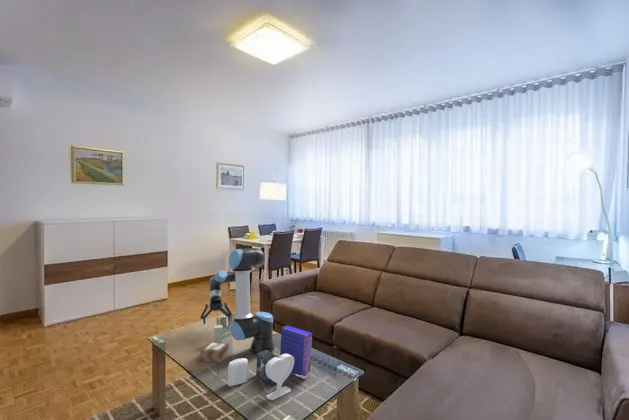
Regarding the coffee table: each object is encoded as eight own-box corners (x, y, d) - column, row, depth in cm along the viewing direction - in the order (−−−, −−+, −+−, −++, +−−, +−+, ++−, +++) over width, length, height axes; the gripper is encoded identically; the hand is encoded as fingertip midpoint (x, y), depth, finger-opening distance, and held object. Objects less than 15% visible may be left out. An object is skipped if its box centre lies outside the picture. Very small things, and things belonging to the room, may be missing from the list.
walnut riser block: (228, 353, 195) (228, 343, 195) (220, 362, 183) (220, 352, 183) (209, 350, 196) (210, 341, 196) (200, 360, 184) (200, 349, 184)
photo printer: (245, 378, 169) (246, 355, 168) (248, 382, 165) (249, 358, 165) (226, 383, 163) (227, 359, 163) (229, 387, 159) (230, 363, 159)
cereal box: (309, 375, 174) (312, 332, 173) (305, 379, 170) (307, 335, 169) (284, 365, 183) (286, 324, 182) (279, 369, 179) (281, 327, 178)
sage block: (221, 342, 208) (221, 324, 208) (222, 345, 204) (222, 327, 204) (213, 343, 207) (213, 325, 206) (213, 346, 202) (214, 328, 202)
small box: (255, 374, 172) (256, 353, 172) (265, 370, 177) (266, 349, 177) (270, 385, 163) (271, 362, 163) (280, 380, 168) (281, 358, 168)
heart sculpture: (269, 401, 150) (271, 364, 149) (263, 396, 153) (264, 360, 153) (294, 389, 161) (295, 354, 160) (287, 384, 164) (289, 350, 164)
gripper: (233, 299, 230) (235, 327, 216) (196, 301, 220) (196, 331, 207) (234, 294, 225) (236, 322, 211) (197, 296, 215) (197, 326, 202)
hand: (216, 327), depth 209 cm, fingers open, 13 cm apart
